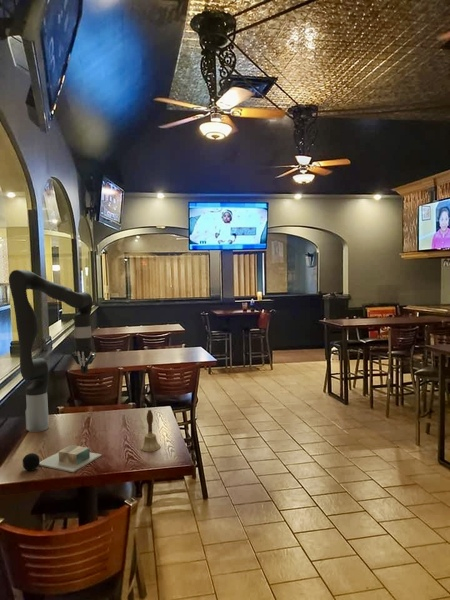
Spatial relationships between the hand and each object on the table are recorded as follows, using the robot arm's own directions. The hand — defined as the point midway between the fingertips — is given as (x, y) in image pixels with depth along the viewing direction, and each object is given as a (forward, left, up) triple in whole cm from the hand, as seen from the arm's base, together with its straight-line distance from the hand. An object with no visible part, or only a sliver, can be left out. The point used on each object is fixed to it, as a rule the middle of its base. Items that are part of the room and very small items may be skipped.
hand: (84, 373), depth 211 cm
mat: (+16, -29, -27) cm, 43 cm away
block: (+14, -29, -24) cm, 40 cm away
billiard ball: (+8, -41, -27) cm, 49 cm away
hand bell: (+39, -7, -27) cm, 48 cm away
